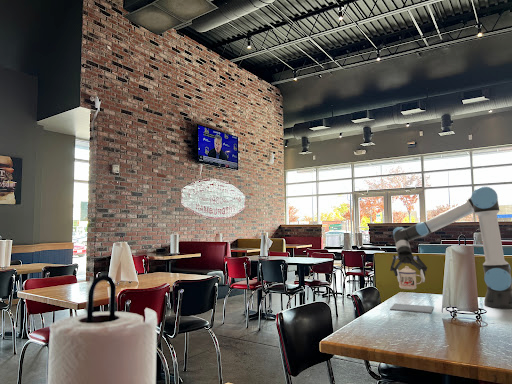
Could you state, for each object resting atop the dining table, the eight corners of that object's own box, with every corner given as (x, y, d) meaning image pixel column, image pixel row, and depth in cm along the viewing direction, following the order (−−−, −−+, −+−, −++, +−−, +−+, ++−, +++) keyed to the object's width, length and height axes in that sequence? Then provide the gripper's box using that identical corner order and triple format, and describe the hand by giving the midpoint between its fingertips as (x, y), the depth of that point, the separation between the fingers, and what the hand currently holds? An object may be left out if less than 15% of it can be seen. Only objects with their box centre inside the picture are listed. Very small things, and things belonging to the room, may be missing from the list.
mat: (433, 307, 208) (433, 306, 208) (431, 313, 194) (431, 312, 194) (394, 304, 218) (394, 303, 218) (389, 309, 204) (389, 308, 204)
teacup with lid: (398, 288, 205) (397, 266, 206) (399, 286, 213) (398, 265, 214) (423, 290, 201) (422, 267, 202) (422, 287, 209) (421, 265, 210)
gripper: (424, 254, 222) (434, 285, 205) (381, 254, 225) (387, 284, 209) (426, 245, 217) (436, 276, 201) (382, 245, 221) (388, 275, 204)
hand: (411, 280), depth 205 cm, fingers closed on teacup with lid, 12 cm apart
